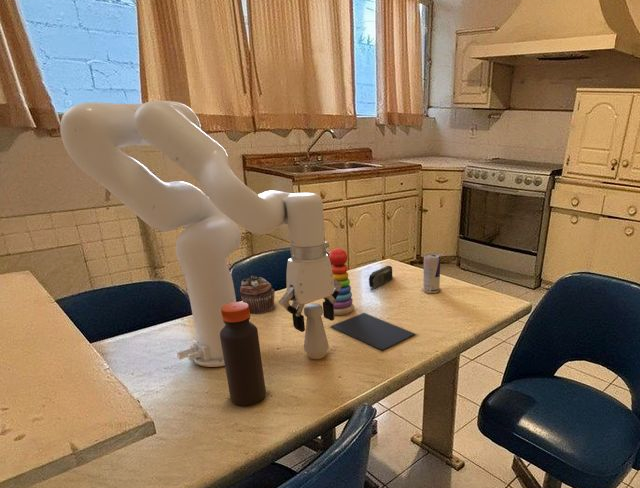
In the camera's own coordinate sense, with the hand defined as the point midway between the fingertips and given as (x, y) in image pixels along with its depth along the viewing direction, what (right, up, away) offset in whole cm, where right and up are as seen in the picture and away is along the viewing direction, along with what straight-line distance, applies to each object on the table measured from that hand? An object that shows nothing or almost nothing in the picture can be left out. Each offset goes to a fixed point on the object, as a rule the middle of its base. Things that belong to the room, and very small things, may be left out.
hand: (314, 323), depth 106 cm
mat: (+12, -3, +16) cm, 20 cm away
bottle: (-10, -14, -13) cm, 22 cm away
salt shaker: (0, -8, +3) cm, 8 cm away
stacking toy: (+1, +2, +28) cm, 28 cm away
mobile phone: (+11, +11, +50) cm, 52 cm away
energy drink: (+28, +8, +44) cm, 53 cm away
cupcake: (-23, +3, +29) cm, 37 cm away
